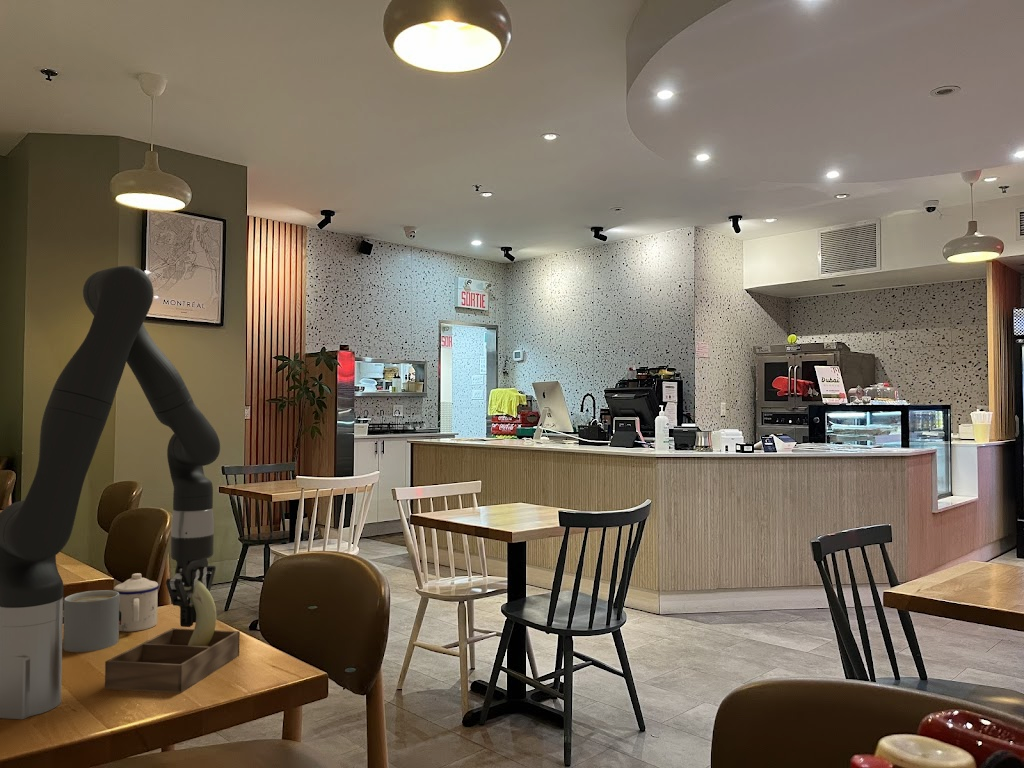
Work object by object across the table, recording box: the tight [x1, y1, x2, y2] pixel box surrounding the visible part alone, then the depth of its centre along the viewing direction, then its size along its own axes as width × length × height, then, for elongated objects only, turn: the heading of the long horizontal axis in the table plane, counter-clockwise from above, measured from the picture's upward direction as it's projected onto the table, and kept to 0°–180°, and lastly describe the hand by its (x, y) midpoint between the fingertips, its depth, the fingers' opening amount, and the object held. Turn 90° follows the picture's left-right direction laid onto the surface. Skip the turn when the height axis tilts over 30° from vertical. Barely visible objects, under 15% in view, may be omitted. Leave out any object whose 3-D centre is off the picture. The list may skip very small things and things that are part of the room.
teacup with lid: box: [112, 572, 160, 633], centre depth 167 cm, size 12×9×12 cm
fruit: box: [184, 581, 217, 646], centre depth 143 cm, size 7×15×3 cm
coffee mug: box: [62, 589, 120, 653], centre depth 157 cm, size 13×10×10 cm
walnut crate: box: [104, 628, 241, 694], centre depth 139 cm, size 20×14×5 cm
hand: (191, 623), depth 144 cm, fingers closed on fruit, 2 cm apart
